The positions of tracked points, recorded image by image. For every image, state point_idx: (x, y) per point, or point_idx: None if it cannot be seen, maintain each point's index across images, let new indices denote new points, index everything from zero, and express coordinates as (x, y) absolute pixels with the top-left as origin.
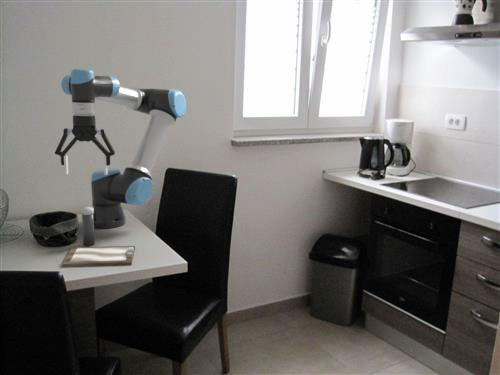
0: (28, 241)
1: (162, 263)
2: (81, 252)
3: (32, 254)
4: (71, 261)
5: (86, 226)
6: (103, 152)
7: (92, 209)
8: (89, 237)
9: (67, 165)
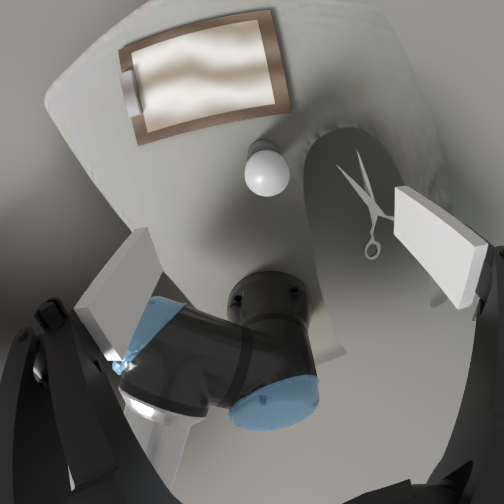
0: (406, 168)
1: (69, 81)
2: (252, 75)
3: (370, 81)
4: (253, 20)
5: (264, 145)
6: (71, 345)
7: (245, 168)
8: (256, 143)
9: (423, 243)
